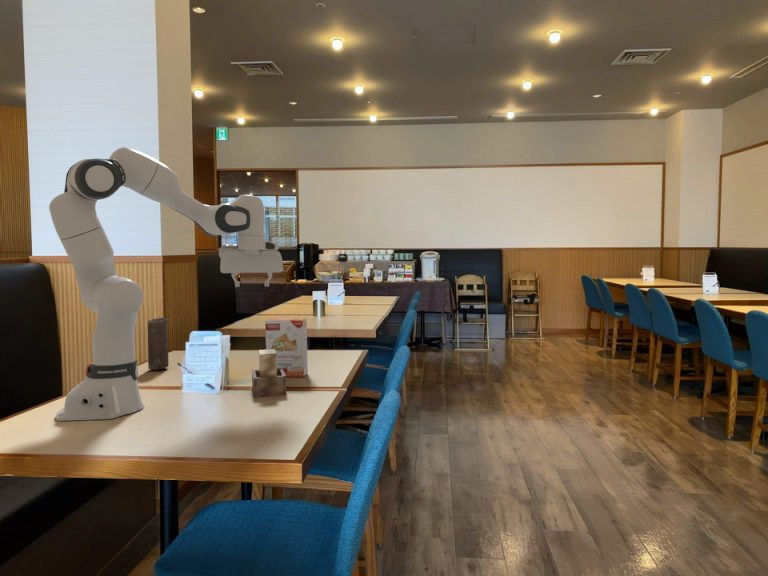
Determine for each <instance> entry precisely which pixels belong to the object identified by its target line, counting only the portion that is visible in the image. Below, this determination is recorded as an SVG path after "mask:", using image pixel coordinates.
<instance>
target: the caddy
mask: <svg viewBox="0 0 768 576" xmlns="http://www.w3.org/2000/svg"><path fill="white" fill-rule="evenodd" d="M251 382H252V384H251V385H252V388H251V389H252V394H253V398H265V397H276V396H286V395H287V377H286V375H285V373H284V371H283V369H282V368H277V376H271V377H260V371H259V369H252V370H251Z"/></svg>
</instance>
